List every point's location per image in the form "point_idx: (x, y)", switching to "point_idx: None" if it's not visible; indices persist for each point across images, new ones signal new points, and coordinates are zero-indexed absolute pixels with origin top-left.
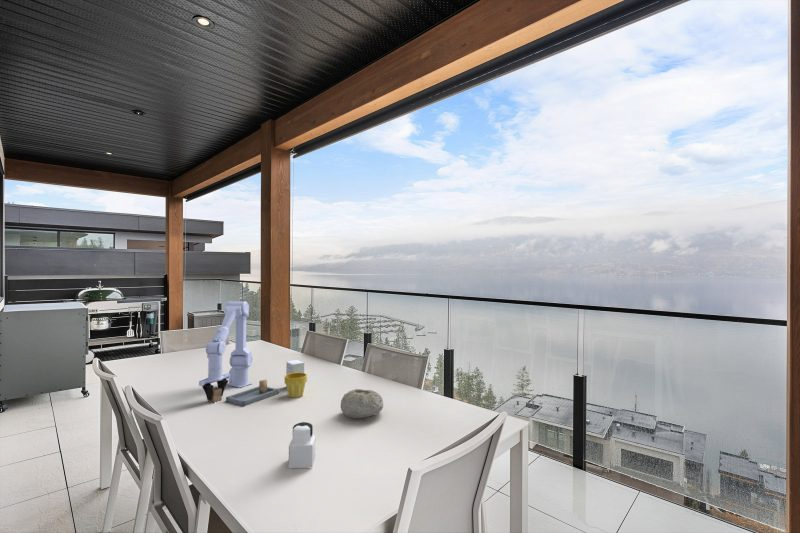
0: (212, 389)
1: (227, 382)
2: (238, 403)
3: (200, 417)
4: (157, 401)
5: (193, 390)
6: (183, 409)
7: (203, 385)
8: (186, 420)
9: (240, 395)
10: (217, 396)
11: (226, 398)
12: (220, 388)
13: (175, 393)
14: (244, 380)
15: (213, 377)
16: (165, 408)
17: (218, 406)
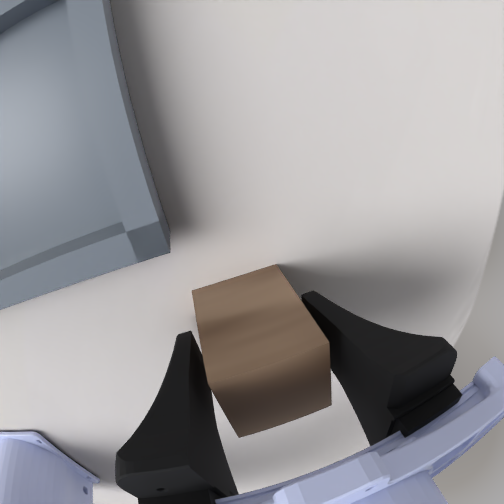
0: (308, 392)
1: (125, 450)
2: (113, 28)
3: (454, 40)
4: None
5: (253, 478)
6: (443, 262)
7: (481, 369)
8: (495, 76)
9: (16, 264)
10: (250, 307)
11: (167, 238)
12: (221, 390)
13: (318, 464)
14: (8, 460)
15: (437, 495)
16: (452, 325)
17: (289, 136)
